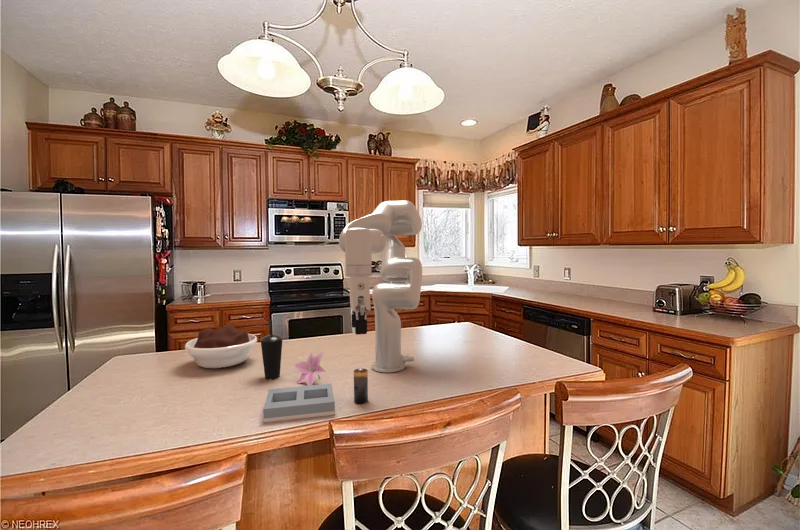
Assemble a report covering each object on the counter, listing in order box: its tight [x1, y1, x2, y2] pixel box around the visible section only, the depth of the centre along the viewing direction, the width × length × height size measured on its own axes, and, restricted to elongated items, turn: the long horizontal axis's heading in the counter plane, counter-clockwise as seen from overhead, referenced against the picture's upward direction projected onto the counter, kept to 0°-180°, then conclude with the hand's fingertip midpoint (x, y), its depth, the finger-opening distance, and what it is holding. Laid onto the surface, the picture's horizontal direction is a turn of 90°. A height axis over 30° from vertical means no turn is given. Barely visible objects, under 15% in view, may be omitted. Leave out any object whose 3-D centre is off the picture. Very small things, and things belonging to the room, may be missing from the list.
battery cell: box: [353, 367, 369, 405], centre depth 109 cm, size 4×4×10 cm
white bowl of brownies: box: [184, 324, 258, 369], centre depth 144 cm, size 25×25×15 cm
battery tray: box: [262, 383, 336, 423], centre depth 105 cm, size 18×14×4 cm
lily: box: [294, 351, 326, 386], centre depth 125 cm, size 12×12×10 cm
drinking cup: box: [259, 319, 284, 380], centre depth 129 cm, size 8×8×20 cm
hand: (359, 330), depth 108 cm, fingers open, 9 cm apart
